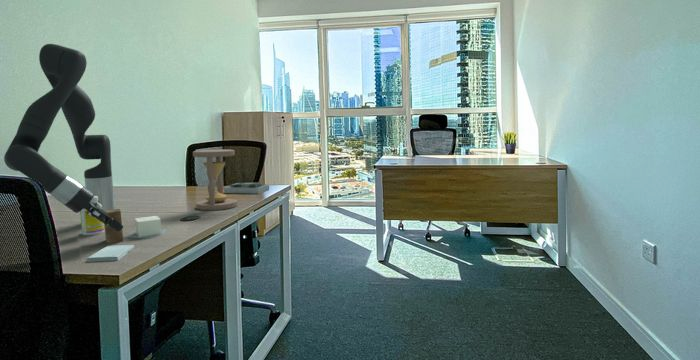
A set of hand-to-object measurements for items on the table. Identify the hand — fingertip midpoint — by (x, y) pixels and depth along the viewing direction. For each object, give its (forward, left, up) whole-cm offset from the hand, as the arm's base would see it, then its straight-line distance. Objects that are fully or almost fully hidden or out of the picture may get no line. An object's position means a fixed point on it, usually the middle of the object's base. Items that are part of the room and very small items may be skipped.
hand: (120, 227), depth 143 cm
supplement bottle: (-16, +7, -5) cm, 18 cm away
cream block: (+4, +9, -4) cm, 10 cm away
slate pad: (+3, +9, -4) cm, 10 cm away
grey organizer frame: (-4, +103, -4) cm, 103 cm away
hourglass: (+2, +59, -5) cm, 59 cm away
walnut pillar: (-1, -1, -4) cm, 5 cm away
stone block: (-3, +101, -5) cm, 101 cm away
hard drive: (+8, -14, -5) cm, 17 cm away
